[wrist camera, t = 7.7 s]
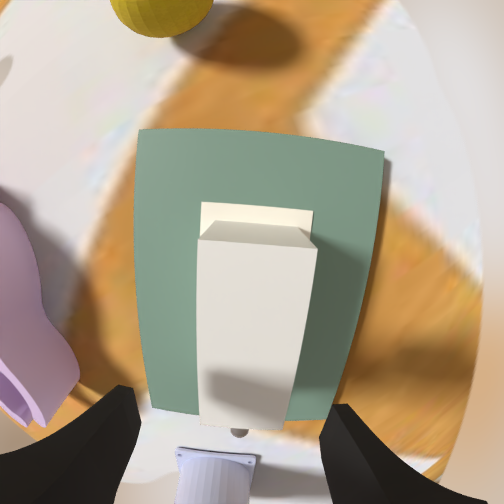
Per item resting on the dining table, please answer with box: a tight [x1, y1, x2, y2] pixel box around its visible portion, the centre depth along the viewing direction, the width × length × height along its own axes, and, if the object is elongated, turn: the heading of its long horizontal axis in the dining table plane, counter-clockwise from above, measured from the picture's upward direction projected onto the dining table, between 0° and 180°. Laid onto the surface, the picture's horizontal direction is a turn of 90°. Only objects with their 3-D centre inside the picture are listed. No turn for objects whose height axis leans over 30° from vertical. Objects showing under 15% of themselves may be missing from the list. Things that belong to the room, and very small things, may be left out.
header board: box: [134, 129, 384, 421], centre depth 16 cm, size 20×14×4 cm
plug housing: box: [196, 220, 318, 438], centre depth 14 cm, size 14×4×5 cm, turn 175°
